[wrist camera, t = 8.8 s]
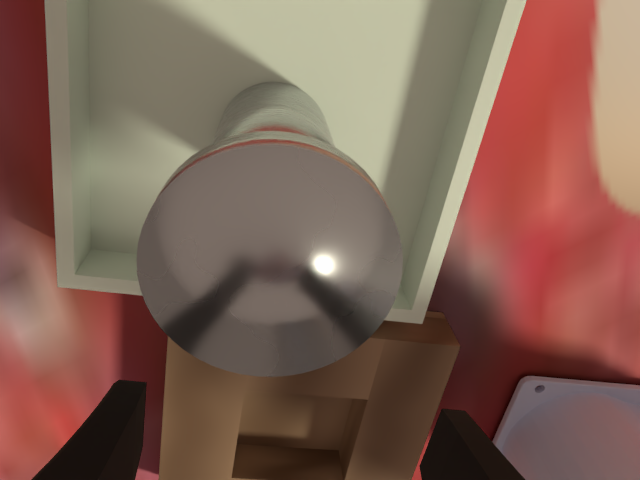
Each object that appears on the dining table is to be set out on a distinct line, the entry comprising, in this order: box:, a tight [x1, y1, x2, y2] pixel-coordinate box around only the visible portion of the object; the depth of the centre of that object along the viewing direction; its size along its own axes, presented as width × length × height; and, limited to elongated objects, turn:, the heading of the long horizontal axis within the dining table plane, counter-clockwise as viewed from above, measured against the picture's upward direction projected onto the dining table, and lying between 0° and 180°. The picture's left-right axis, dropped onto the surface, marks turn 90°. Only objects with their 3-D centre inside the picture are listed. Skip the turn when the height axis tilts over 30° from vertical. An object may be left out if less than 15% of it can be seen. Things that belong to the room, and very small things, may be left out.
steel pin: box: [136, 82, 403, 377], centre depth 15 cm, size 5×5×10 cm
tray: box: [45, 0, 526, 324], centre depth 18 cm, size 14×14×3 cm
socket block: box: [159, 311, 460, 480], centre depth 25 cm, size 12×12×2 cm
